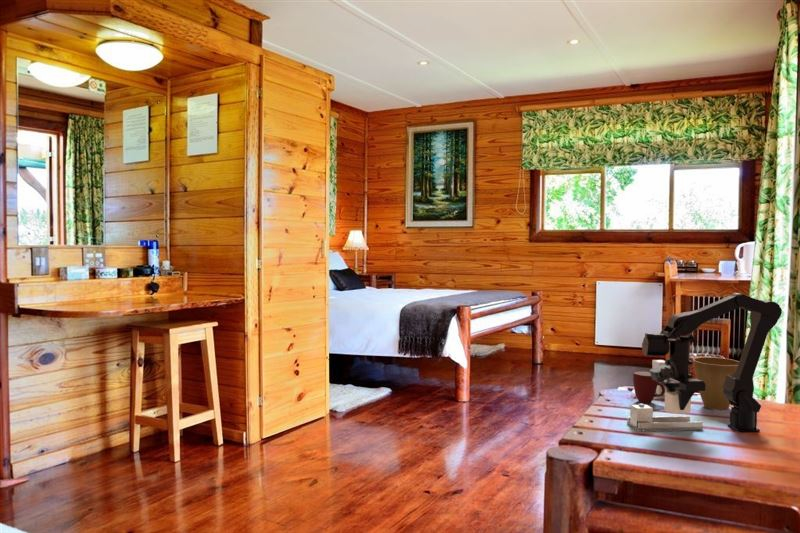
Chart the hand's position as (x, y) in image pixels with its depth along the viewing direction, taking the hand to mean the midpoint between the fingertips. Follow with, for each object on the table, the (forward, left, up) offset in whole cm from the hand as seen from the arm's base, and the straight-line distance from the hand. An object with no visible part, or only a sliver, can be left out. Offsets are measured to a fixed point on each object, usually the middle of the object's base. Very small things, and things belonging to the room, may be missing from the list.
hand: (677, 408), depth 191 cm
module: (0, 0, -1) cm, 1 cm away
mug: (-7, -29, -6) cm, 30 cm away
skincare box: (-19, -42, -6) cm, 46 cm away
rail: (+4, 0, -6) cm, 7 cm away
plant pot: (-27, -21, -6) cm, 35 cm away
